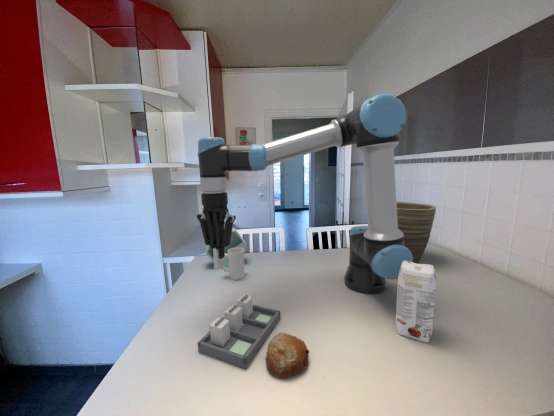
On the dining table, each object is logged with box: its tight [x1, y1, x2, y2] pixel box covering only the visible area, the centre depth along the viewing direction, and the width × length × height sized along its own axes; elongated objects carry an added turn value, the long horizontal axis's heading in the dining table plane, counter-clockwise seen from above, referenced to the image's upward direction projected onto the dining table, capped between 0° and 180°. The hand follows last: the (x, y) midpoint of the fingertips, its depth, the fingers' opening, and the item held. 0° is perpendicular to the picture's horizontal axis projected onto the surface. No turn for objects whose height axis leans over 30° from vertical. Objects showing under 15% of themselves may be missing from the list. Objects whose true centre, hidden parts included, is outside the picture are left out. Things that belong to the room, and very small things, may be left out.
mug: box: [221, 248, 246, 281], centre depth 100 cm, size 10×7×12 cm, turn 96°
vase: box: [396, 201, 437, 264], centre depth 113 cm, size 24×24×30 cm
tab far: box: [235, 294, 254, 318], centre depth 71 cm, size 4×3×6 cm
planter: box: [205, 226, 248, 268], centre depth 114 cm, size 17×8×21 cm
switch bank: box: [197, 304, 281, 370], centre depth 65 cm, size 14×20×3 cm
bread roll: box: [264, 332, 310, 379], centre depth 55 cm, size 10×10×8 cm
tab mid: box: [223, 304, 243, 331], centre depth 66 cm, size 4×3×6 cm
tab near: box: [209, 316, 230, 347], centre depth 60 cm, size 4×3×6 cm
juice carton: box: [395, 260, 437, 344], centre depth 63 cm, size 8×9×19 cm
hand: (218, 267), depth 73 cm, fingers closed
